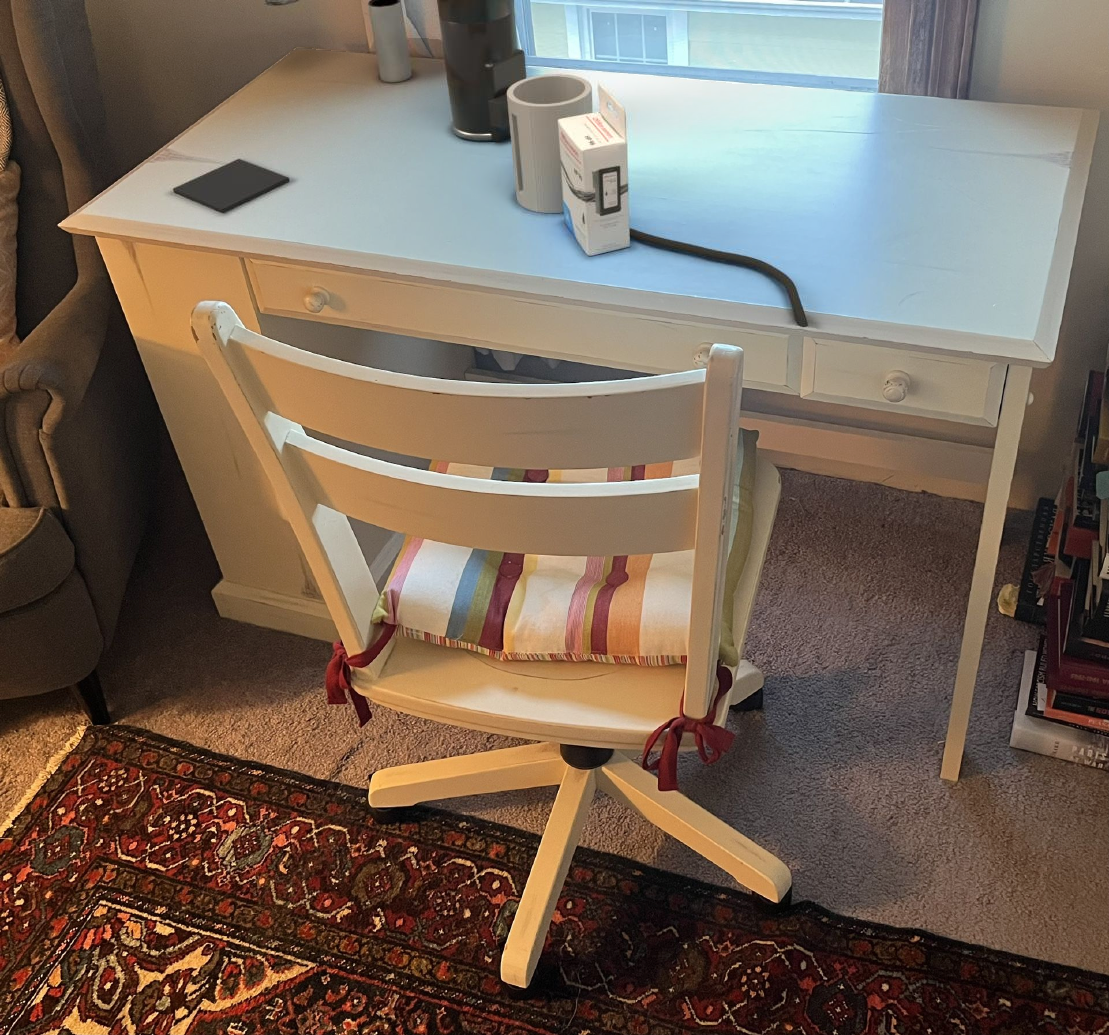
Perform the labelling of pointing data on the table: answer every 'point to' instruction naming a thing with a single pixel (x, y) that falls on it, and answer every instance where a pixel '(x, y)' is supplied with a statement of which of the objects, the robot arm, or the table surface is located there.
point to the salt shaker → (279, 2)
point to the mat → (231, 185)
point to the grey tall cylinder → (390, 40)
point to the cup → (542, 135)
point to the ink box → (596, 176)
